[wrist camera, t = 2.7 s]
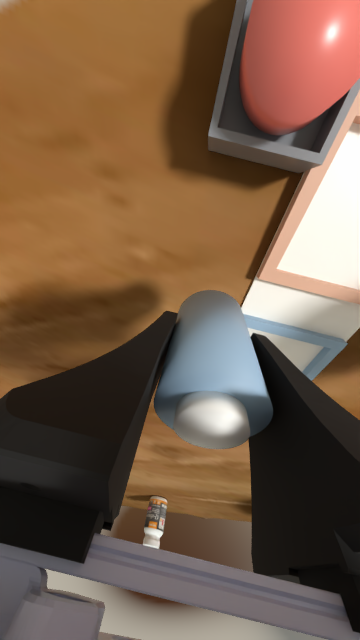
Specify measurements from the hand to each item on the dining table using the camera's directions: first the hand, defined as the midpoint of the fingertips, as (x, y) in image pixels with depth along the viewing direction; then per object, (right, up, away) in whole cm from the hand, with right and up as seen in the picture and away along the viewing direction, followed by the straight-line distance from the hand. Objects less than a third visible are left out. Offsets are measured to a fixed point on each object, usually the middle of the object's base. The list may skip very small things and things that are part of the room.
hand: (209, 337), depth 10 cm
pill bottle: (-8, -57, +49) cm, 76 cm away
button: (+4, +13, -1) cm, 14 cm away
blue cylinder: (0, +1, +1) cm, 2 cm away
